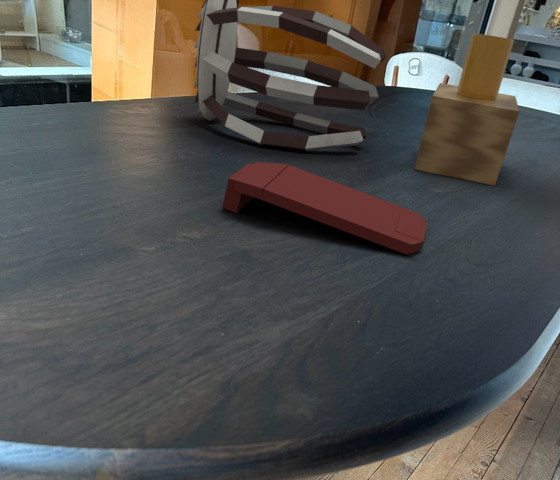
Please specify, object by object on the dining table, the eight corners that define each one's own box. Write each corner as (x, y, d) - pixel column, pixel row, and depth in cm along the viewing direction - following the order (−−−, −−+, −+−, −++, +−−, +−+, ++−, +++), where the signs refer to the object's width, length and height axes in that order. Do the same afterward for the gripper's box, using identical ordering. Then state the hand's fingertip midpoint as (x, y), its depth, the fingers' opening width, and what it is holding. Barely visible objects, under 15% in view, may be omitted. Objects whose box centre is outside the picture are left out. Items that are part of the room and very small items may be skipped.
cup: (495, 96, 104) (513, 39, 99) (496, 102, 99) (514, 41, 94) (457, 89, 106) (472, 32, 101) (455, 94, 100) (471, 34, 95)
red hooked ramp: (413, 249, 81) (246, 186, 83) (428, 216, 78) (255, 152, 80) (405, 284, 71) (216, 212, 73) (422, 248, 68) (224, 173, 70)
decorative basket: (214, 103, 126) (371, 147, 121) (156, 127, 104) (344, 182, 99) (229, -32, 111) (407, 11, 106) (165, -36, 90) (385, 18, 85)
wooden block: (494, 162, 115) (515, 96, 108) (495, 185, 101) (519, 111, 94) (423, 148, 118) (439, 82, 111) (414, 169, 103) (432, 95, 96)
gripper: (482, -143, 83) (450, -1, 93) (611, -132, 80) (563, 14, 90) (483, -133, 90) (452, -1, 99) (602, -122, 86) (558, 13, 96)
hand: (505, 6), depth 94 cm, fingers open, 9 cm apart
